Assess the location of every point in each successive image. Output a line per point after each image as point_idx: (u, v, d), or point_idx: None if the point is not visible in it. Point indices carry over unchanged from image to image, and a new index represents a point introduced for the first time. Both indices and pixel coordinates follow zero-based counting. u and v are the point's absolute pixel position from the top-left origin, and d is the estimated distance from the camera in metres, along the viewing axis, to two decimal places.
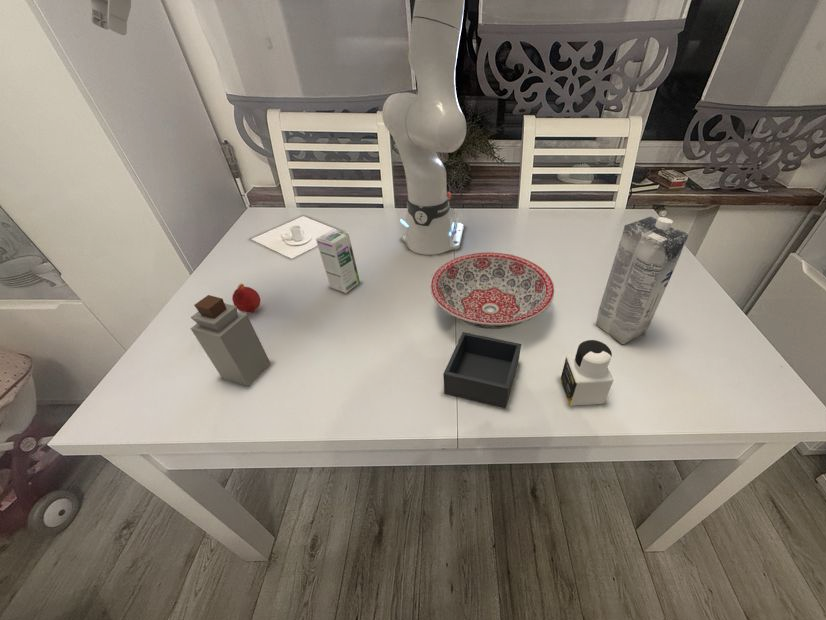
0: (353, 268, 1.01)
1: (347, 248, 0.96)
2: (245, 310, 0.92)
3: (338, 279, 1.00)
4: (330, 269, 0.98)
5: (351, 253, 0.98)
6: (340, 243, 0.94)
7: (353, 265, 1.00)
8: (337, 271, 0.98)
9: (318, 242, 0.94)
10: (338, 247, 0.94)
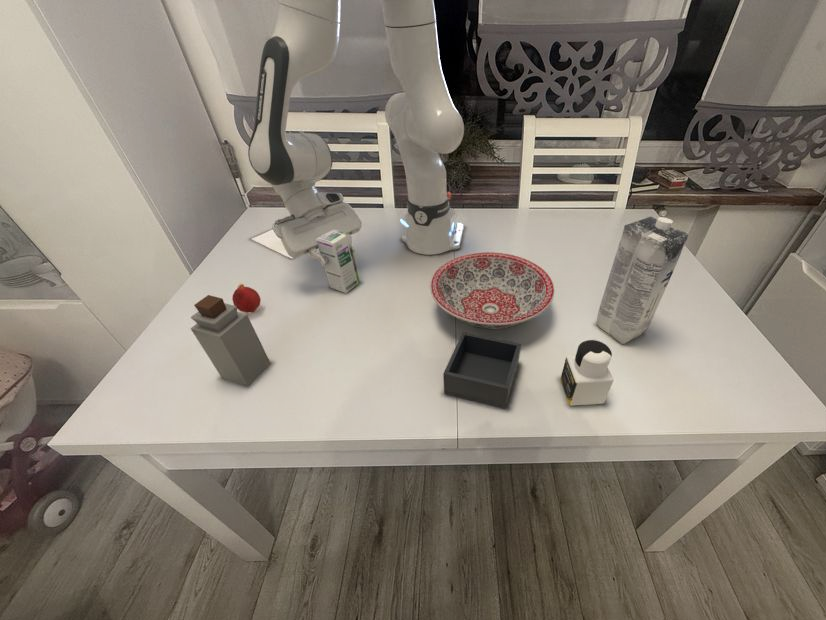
0: (353, 268, 1.01)
1: (347, 248, 0.96)
2: (245, 310, 0.92)
3: (338, 279, 1.00)
4: (330, 269, 0.98)
5: (351, 253, 0.98)
6: (340, 243, 0.94)
7: (353, 265, 1.00)
8: (337, 271, 0.98)
9: (318, 242, 0.94)
10: (338, 247, 0.94)
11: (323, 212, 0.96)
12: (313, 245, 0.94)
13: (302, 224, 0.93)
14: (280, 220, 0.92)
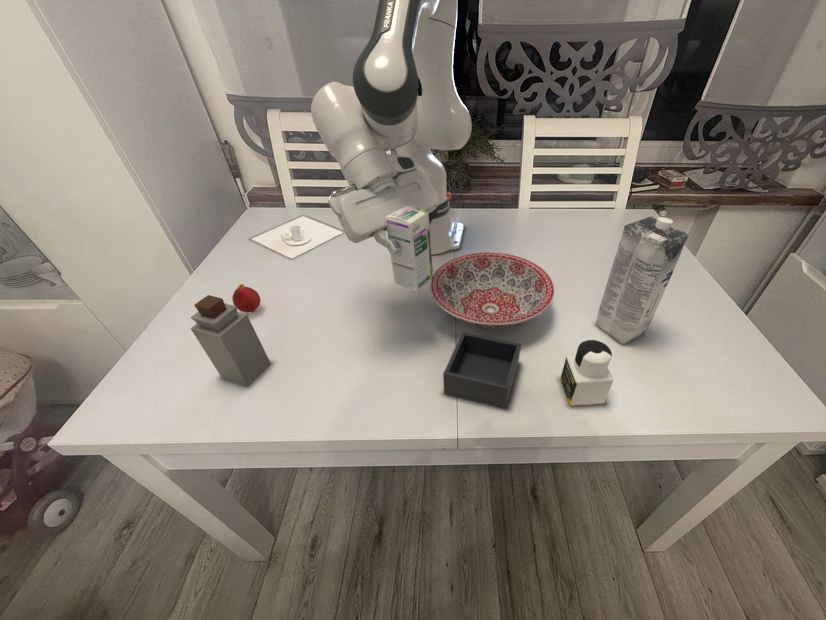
0: (428, 259, 0.76)
1: (425, 231, 0.71)
2: (245, 310, 0.92)
3: (409, 273, 0.74)
4: (399, 259, 0.73)
5: (428, 238, 0.73)
6: (418, 223, 0.69)
7: (428, 255, 0.75)
8: (409, 262, 0.73)
9: (388, 222, 0.69)
10: (415, 229, 0.69)
11: (394, 182, 0.71)
12: (382, 226, 0.69)
13: (367, 197, 0.68)
14: (338, 191, 0.67)
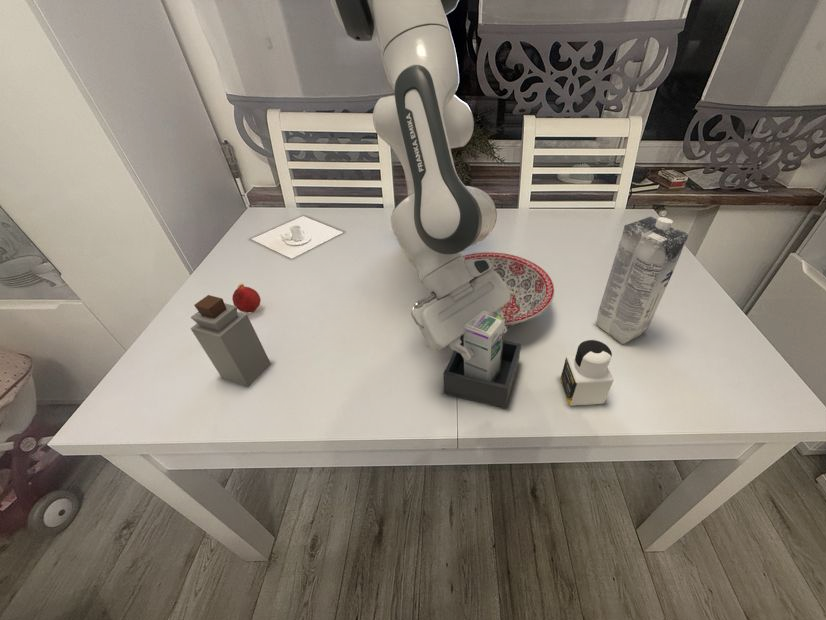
0: (499, 357, 0.76)
1: (500, 336, 0.72)
2: (245, 310, 0.92)
3: (482, 373, 0.75)
4: (473, 361, 0.74)
5: (502, 340, 0.74)
6: (496, 332, 0.70)
7: (500, 354, 0.76)
8: (483, 365, 0.73)
9: (466, 330, 0.70)
10: (494, 338, 0.69)
11: (471, 287, 0.71)
12: (461, 333, 0.69)
13: (448, 306, 0.69)
14: (421, 302, 0.67)
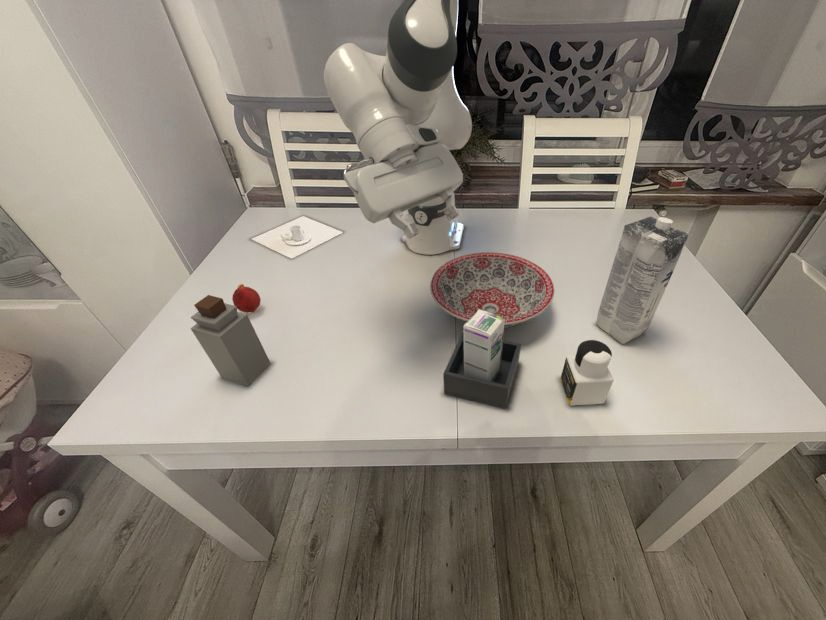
0: (499, 357, 0.76)
1: (500, 336, 0.72)
2: (245, 310, 0.92)
3: (482, 373, 0.75)
4: (473, 361, 0.74)
5: (502, 340, 0.74)
6: (496, 332, 0.70)
7: (500, 354, 0.76)
8: (483, 365, 0.73)
9: (466, 330, 0.70)
10: (494, 338, 0.69)
11: (415, 155, 0.64)
12: (402, 204, 0.62)
13: (386, 171, 0.61)
14: (354, 164, 0.60)
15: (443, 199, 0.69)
